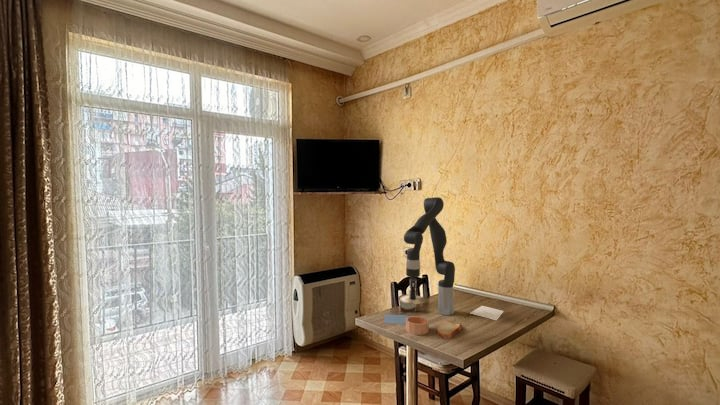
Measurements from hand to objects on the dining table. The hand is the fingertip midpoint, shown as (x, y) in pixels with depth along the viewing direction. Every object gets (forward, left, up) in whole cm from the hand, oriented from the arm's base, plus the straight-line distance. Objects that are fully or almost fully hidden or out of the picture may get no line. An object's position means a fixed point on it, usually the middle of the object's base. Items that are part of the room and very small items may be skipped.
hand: (412, 298), depth 182 cm
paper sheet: (-54, -30, -18) cm, 65 cm away
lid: (0, 0, -1) cm, 1 cm away
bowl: (-2, +3, -17) cm, 18 cm away
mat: (+9, -12, -17) cm, 23 cm away
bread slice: (-21, 0, -18) cm, 27 cm away
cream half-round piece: (+2, -29, -18) cm, 34 cm away
